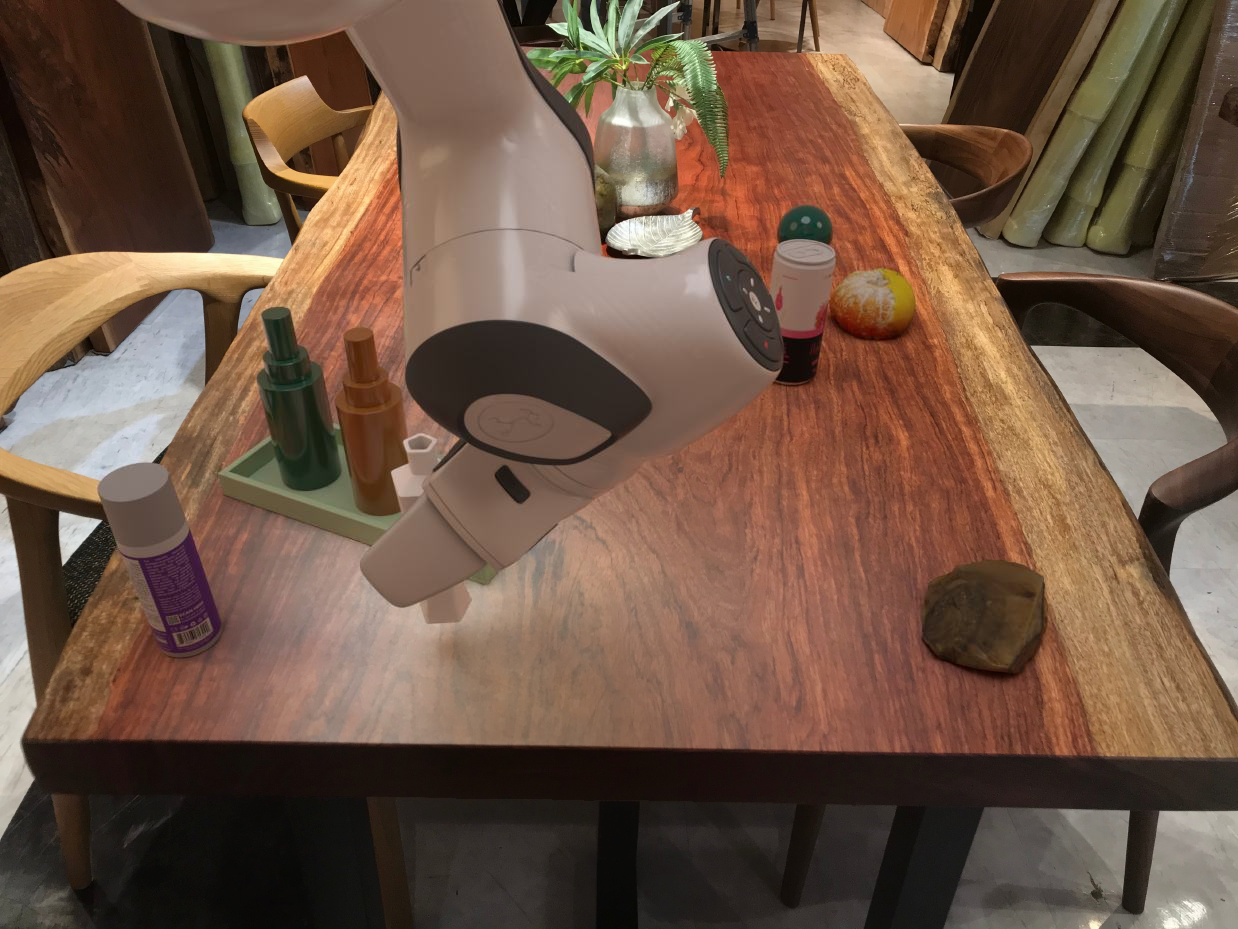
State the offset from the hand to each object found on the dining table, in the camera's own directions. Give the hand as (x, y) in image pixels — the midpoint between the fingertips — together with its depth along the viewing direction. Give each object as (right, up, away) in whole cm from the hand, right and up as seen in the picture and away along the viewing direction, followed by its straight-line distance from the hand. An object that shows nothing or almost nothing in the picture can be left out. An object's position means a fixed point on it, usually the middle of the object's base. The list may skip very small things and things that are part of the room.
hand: (426, 521), depth 61 cm
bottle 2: (-9, +1, +22) cm, 23 cm away
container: (-20, -10, +8) cm, 24 cm away
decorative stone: (+42, -9, +11) cm, 45 cm away
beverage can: (+33, +15, +43) cm, 56 cm away
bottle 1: (-16, +3, +24) cm, 30 cm away
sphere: (+40, +34, +70) cm, 87 cm away
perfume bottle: (0, -7, +5) cm, 9 cm away
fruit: (+45, +22, +54) cm, 74 cm away
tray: (-9, 0, +22) cm, 24 cm away
